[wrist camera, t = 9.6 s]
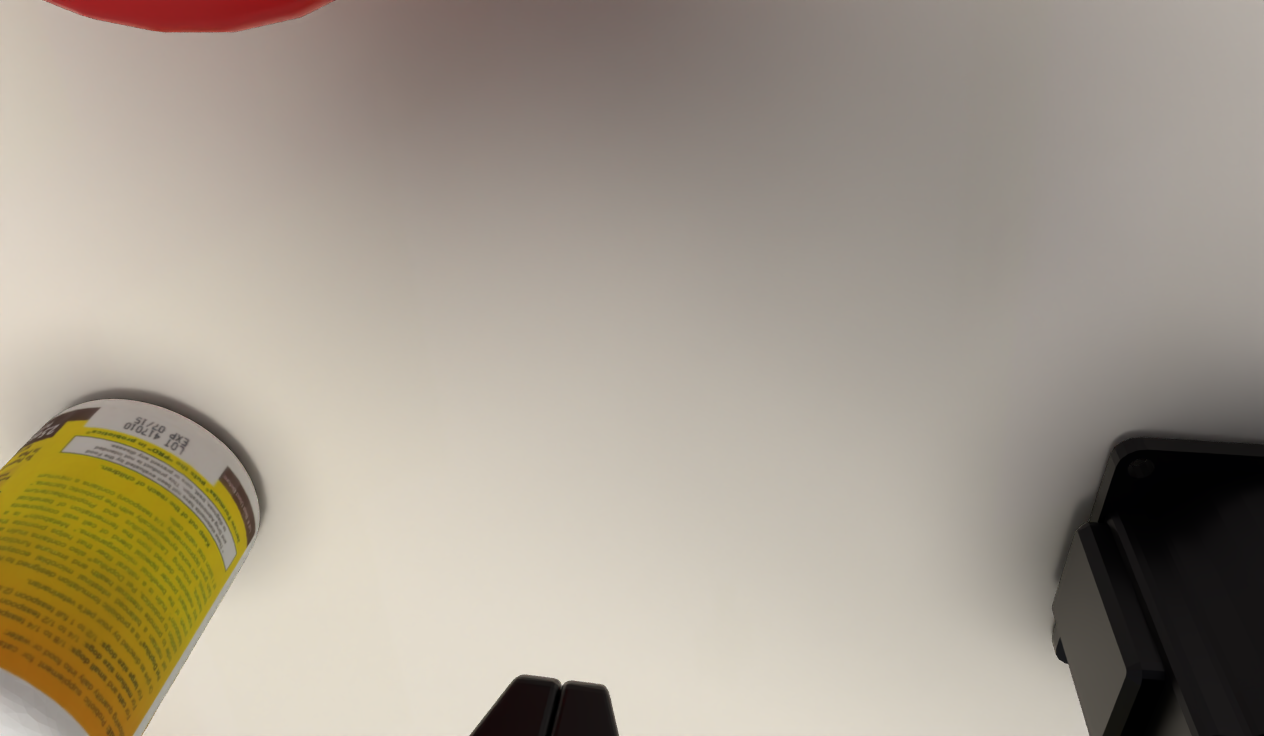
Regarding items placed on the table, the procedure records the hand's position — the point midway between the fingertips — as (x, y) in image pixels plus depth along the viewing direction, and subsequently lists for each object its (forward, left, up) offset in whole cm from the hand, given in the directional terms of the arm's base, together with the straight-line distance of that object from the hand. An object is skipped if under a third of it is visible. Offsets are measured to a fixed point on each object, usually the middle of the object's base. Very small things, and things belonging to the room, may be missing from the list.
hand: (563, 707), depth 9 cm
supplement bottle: (+13, +8, -12) cm, 19 cm away
